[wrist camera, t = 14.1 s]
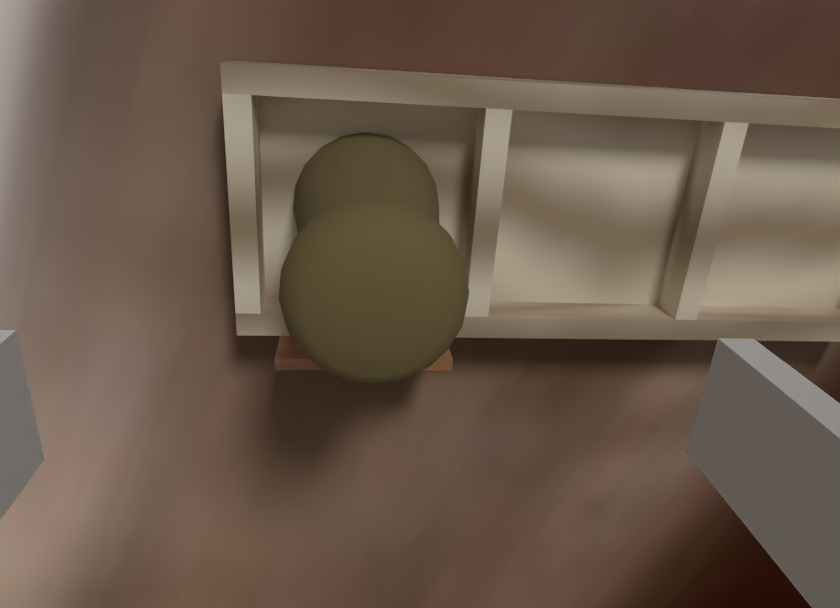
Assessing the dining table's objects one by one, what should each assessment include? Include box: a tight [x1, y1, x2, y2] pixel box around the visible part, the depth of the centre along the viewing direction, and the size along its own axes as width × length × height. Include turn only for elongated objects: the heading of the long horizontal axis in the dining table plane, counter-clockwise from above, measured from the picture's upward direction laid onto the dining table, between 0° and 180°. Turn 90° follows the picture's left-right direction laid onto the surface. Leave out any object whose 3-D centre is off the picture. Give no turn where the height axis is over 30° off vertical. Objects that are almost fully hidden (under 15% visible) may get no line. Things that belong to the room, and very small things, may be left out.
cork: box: [279, 132, 469, 384], centre depth 20 cm, size 6×6×11 cm
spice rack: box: [220, 60, 840, 371], centre depth 25 cm, size 11×30×4 cm, turn 87°
